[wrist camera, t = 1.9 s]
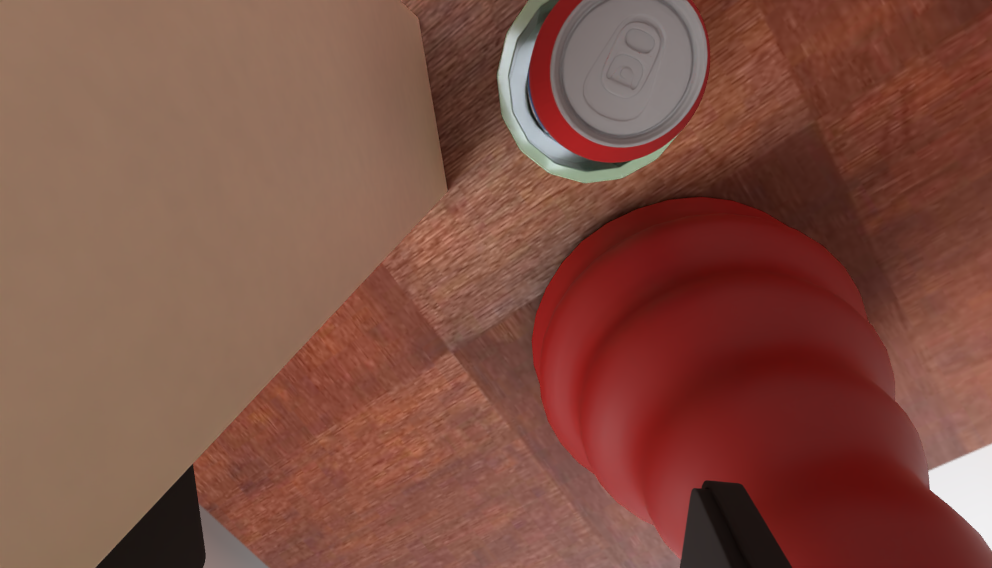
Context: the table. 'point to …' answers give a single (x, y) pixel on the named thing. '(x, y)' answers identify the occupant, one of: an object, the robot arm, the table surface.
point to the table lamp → (739, 387)
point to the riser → (181, 230)
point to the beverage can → (618, 75)
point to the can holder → (522, 119)
